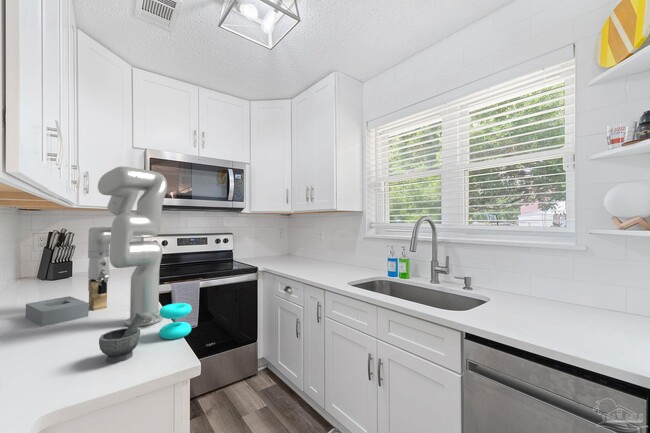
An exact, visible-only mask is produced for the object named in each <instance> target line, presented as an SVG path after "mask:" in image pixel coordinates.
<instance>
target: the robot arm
mask: <svg viewBox="0 0 650 433" xmlns="http://www.w3.org/2000/svg"><path fill="white" fill-rule="evenodd" d="M167 190H168V182H167V179H166V177H165V176H164V174H162V173H160V172H157V171H154V170H149V169H143V168H136V167H129V166H117V167H114V168H113V169H110V170H109V171H107V172H105V173H104V174H103V175H101V177H100V178H99V179H98V183H97V191H98V192H99V193H100V194H101V195H103V196H110V199H109V201H108V203H107V207H106V209H107V211H108V212H109V213H110V214H112V215H114V216H115V217H114V219H113V221H112V224H111V226H109V227H107V226H106V227H105V226H96V227H95V226H93V227H90V228H89V229H88V239H87V240H88V243H87V244H88V246H87V247H88V248H87V259H88V268H87V269H88V270H87V271H88V273H87V275H88V276H87V277H88V280H87V281H88V283H89V282H93V281H98V282H99V285H98V294H104V293H107V294H108V282H109V279H110V265H111V266H112V267H114V268H116V269H126V268H133V267H136V268H134V270H133V272H132V274H131V277H130V297H129V299H130V300H129V301H130V302H129V305H130V307H129V318H127V319H126V320H125V321H124V325H125V326H127V327H129V326H130V324H131V323H132V321H133V320H134V318H135V315H136V313H143V314H145V315H146V317H145V318H144V319H143V320H142V322H141V324H140V326H139V327H144V326H145V327H146V326H149V325H155V324H157V323H159V322H161V321H162V320H163V319H164V318H163V317H161V316H160V314H159V311H160V307H159V306H160V305H159V304H160V302H159V301H160V300H159V299H160V297H159V296H160V267H161V266H160V265H161V262H162V257H163V247H162V246H161V244H160V243H159V242H158V241H156V240H155V241H153V240H140V241H136V240H135V241H131V240H132V239H148V238H154V237H156V236H158V235H159V234H160V230H161V224H162V213H163V203H164V199H165V196H166V194H167ZM140 191H141V192H143V191H144V192H143V193H142V195H141V196H140V197H139V199H137V198H138V196H139V193H140ZM136 201H137V203H136ZM135 203H136V211H135V213H133V212H132V210H133V207H134V205H135ZM101 280H102V282H101ZM87 286H88V289H87V290H88V292H89V285H87Z"/></svg>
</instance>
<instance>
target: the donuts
mask: <svg viewBox="0 0 650 433" xmlns="http://www.w3.org/2000/svg"><path fill="white" fill-rule="evenodd" d="M191 312H192V305H191V304H189V303H186V302H178V303H176V302H175V303H170V304H166V305H163V306H162V307H161V308H159V314H160V316H161V317H163V319H167V320H175V319H181V318H184V317H186V316H188V315H189V314H190V313H191ZM191 332H192V326H191V324H190V323H188V322H185V321H174V322H170V323H167V324H165V325H163V326H162V327H161V328H160V329H159V332H158V335H159V336H158V337H160V338H162V339H164V340H176V339H181V338H183V337H186V336H188V335H189V334H190V333H191ZM182 336H183V337H182Z"/></svg>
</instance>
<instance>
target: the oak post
mask: <svg viewBox="0 0 650 433" xmlns="http://www.w3.org/2000/svg"><path fill="white" fill-rule="evenodd" d="M101 282H102V280H101ZM98 285H99V282H98V280H97V281H93V282H88V286H89V291H88V303H89V308H88V310H91V311H97V310H98V311H99V310H103V309H107V307H108V306H107V305H108V303H107V302H108V292H107V293H104V294H98Z"/></svg>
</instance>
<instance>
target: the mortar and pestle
mask: <svg viewBox="0 0 650 433" xmlns="http://www.w3.org/2000/svg"><path fill="white" fill-rule="evenodd" d="M145 317H146V315H145V314H143V313H136V315H135V318H134V320H133V321H132V323H131V324H130V326H127V327H125V328H124V327H122V328H120V329H119V328H118V329H114V330H109V331H107V332H105V333H103V334H101V335H100V337H99V338H98V345H99V350H100V351H101V353H102V354H104V355H106V356H107V357H106V362H107V363H109V364H115V363H117V364H119V363H121V362H125V361H127V360H130V359H131V358H133V355H134V354H133V351H134V350H135V348H136V347H137V346H138V344H139V340H140V337H141V329H140V327H141V326H140V324H141V322H142V320H143V319H144V318H145Z"/></svg>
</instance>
